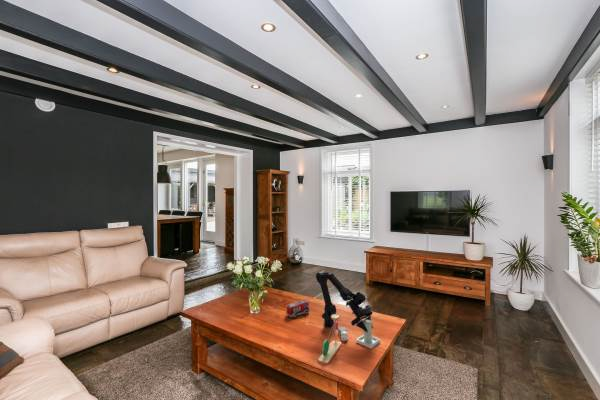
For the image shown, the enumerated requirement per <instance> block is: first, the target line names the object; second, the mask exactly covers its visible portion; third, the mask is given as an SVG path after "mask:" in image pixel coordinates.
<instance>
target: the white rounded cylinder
mask: <svg viewBox="0 0 600 400" xmlns="http://www.w3.org/2000/svg"><path fill="white" fill-rule="evenodd" d="M348 335H349V333H348V331H347V332H346V331H342V332H341V336H340V340H341V341H342V342H347V341H348V338H349V337H348Z"/></svg>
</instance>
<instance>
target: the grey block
mask: <svg viewBox="0 0 600 400" xmlns="http://www.w3.org/2000/svg"><path fill="white" fill-rule="evenodd" d="M342 331H346V332H348V329H347V328H346V326H341V327H339V326H338V330H337V333H338V335H339V337H341V332H342Z"/></svg>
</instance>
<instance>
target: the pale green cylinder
mask: <svg viewBox="0 0 600 400" xmlns="http://www.w3.org/2000/svg"><path fill="white" fill-rule="evenodd" d="M371 322H372V320H371V321H370V320H365V319H363V323H364V325H365V327H366V328H367V330H368V332H366V331H364V330H363V335H364V342H365V343H372V336H373V331H372V329H373V328H372V326H373V323H371Z"/></svg>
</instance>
